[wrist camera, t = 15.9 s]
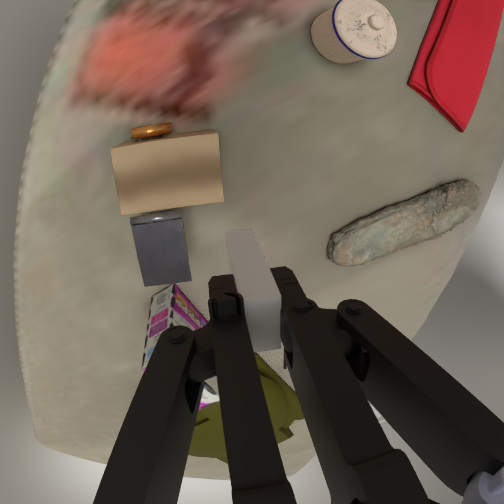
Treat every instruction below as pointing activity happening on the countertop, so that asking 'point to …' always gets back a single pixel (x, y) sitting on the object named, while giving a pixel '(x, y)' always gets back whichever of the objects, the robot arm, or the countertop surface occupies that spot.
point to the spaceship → (279, 405)
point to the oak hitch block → (168, 172)
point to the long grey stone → (404, 224)
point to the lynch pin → (151, 134)
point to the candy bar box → (173, 314)
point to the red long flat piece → (456, 56)
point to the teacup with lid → (354, 31)
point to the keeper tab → (161, 248)
